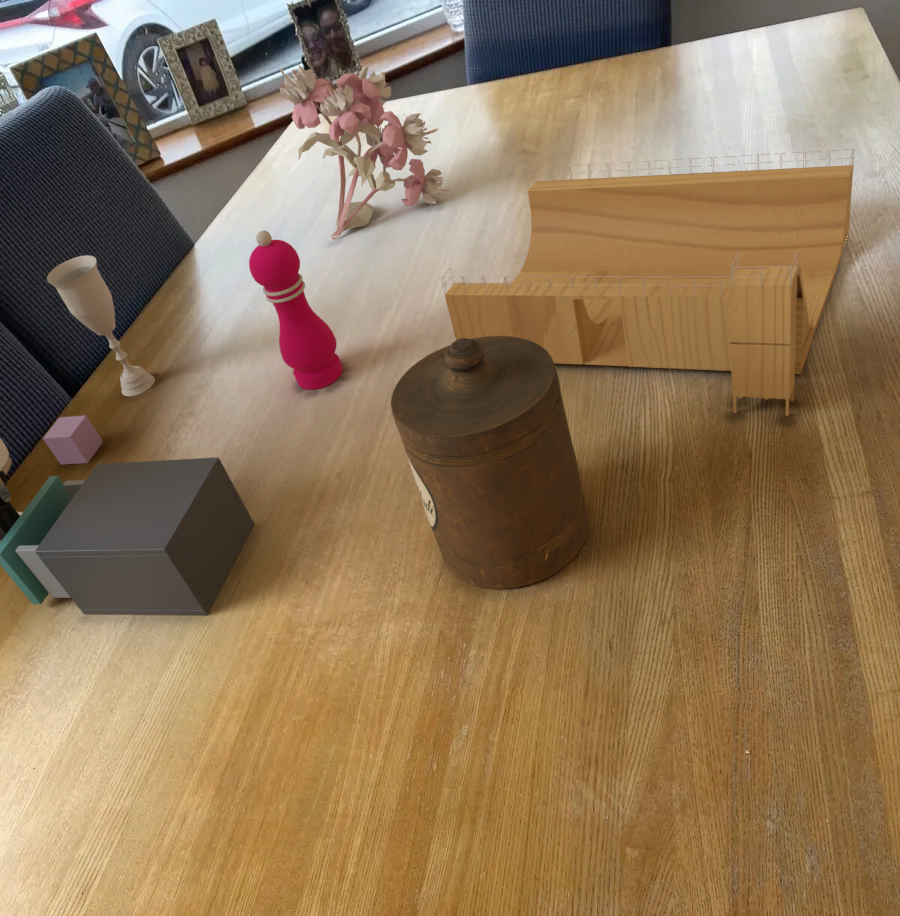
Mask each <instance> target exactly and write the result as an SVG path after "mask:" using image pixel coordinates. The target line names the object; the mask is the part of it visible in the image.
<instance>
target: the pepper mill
mask: <svg viewBox="0 0 900 916" xmlns="http://www.w3.org/2000/svg"><path fill="white" fill-rule="evenodd" d="M255 237H256V238H255V239H256V243H257V244H258V245H257V246H256V247H254V249H253V250H252V252H251V253H250V256H249V260H248V266H249V273H250V275H251V277H252V278H253V280H254V282H256V283H257V284H258V285H260V286H262V292H263V294H264V295H265V299H266V301H267V302H269V303H271V304H272V305H273V307H274V309H275V312H276V314H277V317H278V318H277V319H278V324H279V333H278V335H279V336H278V338H279V339H278V342H279V343H278V345H279V353H280V355H281V357H282V360H283V362H284V363H285V365H286V366H288V367H289V368H291V369H292V371H293V374H292V375H293V376H294V378H295V381H296V383H297V385H298V387H300V388H301V389H303V390H307V391H309V390H311V391H312V390H313V391H314V390H320V389H323V388H326V387H327V386H330V385H332V384H333V383H334V382H336V381H337V380H339V378H340V377H341V375H342V373H343V365H342V362H341V359H340V357H339V355H338V354H337V352H336V350H337V345H338V344H337V343H338V342H337V338H336V336H335V334H334V332H333V330H332V329H331V327H329V325H328V324H327V323H326V322H325V321H324V320H323V319H322V318H321V317H320V316H318V314H317V313H316V312H314V310H313V309H312V308H311V305H310V304H309V302H308V300H307V298H306V294H305V291H304V290H305V289H306V283H305V281H304V280H303V276H302V274H300V273H299V272H300V268H301V260H300V257H299V255H298V252H297V250H296V249H295V247H293V245H292V244H290V243H289V242H287V241H285V240H282V239H273V237H272V235H271V233H270V232H269V231H267V230H260V231H259V232H257V234H256V236H255Z"/></svg>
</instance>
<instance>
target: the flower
mask: <svg viewBox="0 0 900 916" xmlns="http://www.w3.org/2000/svg"><path fill="white" fill-rule="evenodd" d="M297 65H298V68H297V69H296V68H295V69H294V68H292V69H291V71H292V72H291V74H292V76H293V77H290V76H289V74H285V72H284V69H283V68H279V71H280V73H281V75H283V76H284V82H281V83H280V85H279V91H280V94H281V96H282V97H283V98H284V99H285V100H287V101H289V102H290V103H291V104H292V105H293V111H292V115H291V119H292V121H293V123H294V125H295V127H296V128H297V129H298V130H304V129H306V128H307V129H316V128H317V127H318V126H319V125H320V124H321V123H322V122H321V120H320V119H321V118H320V116H319V113H318V112H320V113H321V115H322V116H323V118H324V119H325V120H326V122H327V124H329V129H328V133H325V132H321V133H320V132H317V131H314V132H312V133H310V134H309V136H308V137H307V139H306V140H305V141H304V142H303V143H302V145H301V146H299V148H298V160H300V159H301V156H302V153H306V152H307V151H309V150H311V149H312V147H313V146H314V145H316V143H321V144H323V145H325V146H328V147H329V148H326V149H324V152H323V155H322V159H325V158H326V156H328V157H334V156H337V155H338V166H339V177H340V188H339V200H338V201H339V202H338V210H337V211H338V212H337V216H336V221H335V226H336V230H335V231H334V232H333V233H332V234H331V236H330V238H331V237H332V236H336V237H332V238H331V239H332V240H333V241H335V240H336V238H339V237H340V236H341V235H342V234H343V233H344V232H345V231H348V230H350V229H352V228H356V227H357V228H358V227H364V226H368V224H369V223H370V221H371V218H372V215H373V211H374V208H375V206H373V205H371V204H370V203H368V202H369V201H370V200H371V199H372V198H373V196H375V194H376V193H378V192H379V191H382V192H387V191H390V190H392V189H394V188H395V186H396V182H403V187H404V188H405V189H404V196H405V198H401V199H400V200H401V202H402V203H403V205H404V206H405V207H410V208H412V207H414V205H416V204H417V203H418V202H419V200H420V197H421V195H422V197H423V200H424V203H425V204H428V203H431V204H430V205H436V204H438V203H437V201H436V199H438V200H440V199H439V198H440V197H439V196H440V195H441V196H443V193H441V192H447V193H450V192H451V189H443V188H441V187H442V185H443V184H444V182H443V181H444V179H443V178H444V177H442V176H441V175H443V173H442V171H441V170H440V169H436V168H432V169H430V170H429V171H428V172H427V173H426V170H425V168H424V162H423V161H422V160H421V159H420V158H419V159H418V158H417V159H416V158H411V159H410V160H409V162H408V165H409V169H408V170H409V171H410V173H411V174H410V175H408V176H407V177H405V178H401V177H398V178H395V179H391V175H390V173H389V172H388V171H387V168H391V169H392V170H395V171H402V170H403V169H404V168H405V166H406V165H407V161H408V157H409V152H411V153H412V154H413V155H414V156H419V157H421V156H423V155H424V154H426V153H428V152H429V150H427V149H425V147H426V145H427V144H430V145H432V142H431V140H429V137H428V136H427V135H431V134H434V133H436V132H437V131H438V130H439V128H434V129H432V130H429V131H428V128H427V127H426V126H425V125H426V121H425V120H423V119H422V118H419V117H420V115H421V114H422V113H421V112H420V113H412V114H409V115H406V117H405V119H404V122H403V124H402V122H401V121H400V118H399V117H398V116H397V115H396V114H395V113H394V112H393V111H392V110H388V111H385V108H384V105H385V103H387V101H386V100H383V99H389V98H390V97H392V87H391V86H388V85H389V82H386V74H385V72H383V71H381V72H379V74H376V72H375V71H372V73H369V76H368V77H367V75H368V70H369V65H364V67H362V69H361V71H360V72H359V74H358V75H357V74H356V73H354V72H348V73H347V72H345V73H344V74H342V75H341V77H339V78H338V79H337V80H336V88H335V90H334V89H333V87H334V86H333V84H332V83H331V81H330V80H328V79H326V78H316V74H315V73H314V71H313V70H312V69H306V70H305V69H304V68H303V67H302V66H301V65H300V64H297ZM297 71H298V72H297ZM343 87H345V88H344V89H343ZM318 103H319V104H318ZM330 117H335V119H334V120H333V121H331V120H330ZM384 122H388V123H387V124H384V127H382V124H383V123H384ZM359 133H362V134H365V139H366V144H367V145H368V146H370V147H369V148H368V149H367V150H366V151H365V153H364V154H363V155H361V154H362V143H361V138H360V135H359ZM425 136H426V137H425ZM354 138H356V142H357V153H356V152H354V151H353V150H352V149H351V148H350V147H349V146H348V145H347V144H348V143H350V142H351V141H352V140H353V139H354ZM408 150H409V151H408ZM378 157H379V160H380V161H379V162H380V163H381V165H382V171H381V172H379V174H378V175H377V176H376V177H375V176H374V174H373V173H374V172H375V169H376V168H377V167H376V162H377V159H378ZM345 159H346V160H347V162H348V163H349V164H350V165H351V166H352V167H353V168H352V169H351V170H350V172H349V173H348V175H347V177H346V167H345ZM350 176H352V179H351V183H350V186H349V189H348V192H347V195H346V186H347V185H346V183H347V178H349V177H350ZM359 177H360V178H361V180H360V181H361V183H360V185H361V186H360V188H361V187H362V186H364V184H365V183H366V181H367V182H368V183H367V184H368V185H369V187H370V189H371V191H370V193H368V195H367V196H366V197H365V198H364V199H363V200H362V201H353V202H352V200H353V197H354V193H355V190H356V186H357V182H358V180H359V179H358V178H359ZM345 196H346V197H345ZM345 198H346V199H345ZM433 202H436V203H433ZM337 235H338V236H337Z"/></svg>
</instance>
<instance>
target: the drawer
mask: <svg viewBox="0 0 900 916" xmlns="http://www.w3.org/2000/svg"><path fill="white" fill-rule="evenodd" d="M85 480H86V479H77V480H76V479H74V480H65V481H64V482H63V480H62V478H61V477H60V476H59V475H50V476H49V477H48V478H47V479H46V481H45V482H44V484H42V486H41V488H39V490H38V491H37V492H36V494H35V495H34V497H33V498H32V499H31V501H30V502H29V503H28V505H27V506H26V508H25V509H24V510H23V511H18V510H16V509H15V510H16V511H17V512H18V514H19V515H20V517H19V518H18V520H17V521H16V522H15V524H14V525H13V526H12V528H11V529H10V530H9V532H8V533H7V534H6V536H5V537H4V538H3V540H1V539H0V567H1V568H2V569H3V570H4V572H5V573H6V575H8V576H9V578H10V579H11V580H12V581H13V582H14V583H15V585H16V586H17V587H18V588H19V590H20V591H21V592H22V593H23V594H24V595H25V597H26V598H27V599H28V600H29V601H30V603H31V604H32V605H42V604H43V603H44V601H45V600H46V598H47V597H48V595H50V596H51V597H52V598H55V599H57V598H58V599H59V598H60V599H62V598H64V599H71V597H70V596H69V595H68V594H67V592H66V591H65V590H64V588H63V587H62V586H61V585H60V583H59V582H58V581H57V580H56V578H55V577H54V576H53V575H52V573H51V572H50V571H49V569H48V568H47V567H46V566H45V564H44V563H43V562H42V561H41V559H40V558H39V556H38V555H37V554H36V553H35V550H36V549H37V547H38V546H39V545H40V543H41V542H42V540H43V539H44V538H45V536H46V535H47V533H48V532H49V531H50V529H51V528H52V526H53V525H54V524H55V522H56V521H57V519H58V518H59V516H60V515H61V514H62V512H63V511H64V509H65V508H66V507H67V505H68V504H69V502H70V501H71V500H72V498H73V497H74V495H75V494H76V493H77V491H78V490H79V488H80V487H81V485H82V484H83V483H84V481H85Z"/></svg>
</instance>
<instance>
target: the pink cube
mask: <svg viewBox="0 0 900 916" xmlns="http://www.w3.org/2000/svg"><path fill="white" fill-rule="evenodd" d="M42 440H43V442H45V444H46V445H47V447H48V448H49V450H50V452H52V454H53V456H54V457H55V458H56V460H57V461H58V462H59V465H79V464H89V462H90V461H91V459H92V458H93V456H94V455H95V454H96V453H97V451H98V450H99V449H100V447H101V446H102V444H103V443H104V440H103V439H102V437H101V436H100V435H99V433H98V431H97V430H96V428H95V427H94V425H93V423H92V422H91V420H90V419H89V417H88V416H87V415H85V414H83V415H72V416H71V415H70V416H59V417H58V418H57V419H56V421H54V423H53V425H52V426H51V427H50V429H49V430H48V431H47V432H46V433H45V435H44V436H43V437H42Z"/></svg>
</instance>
